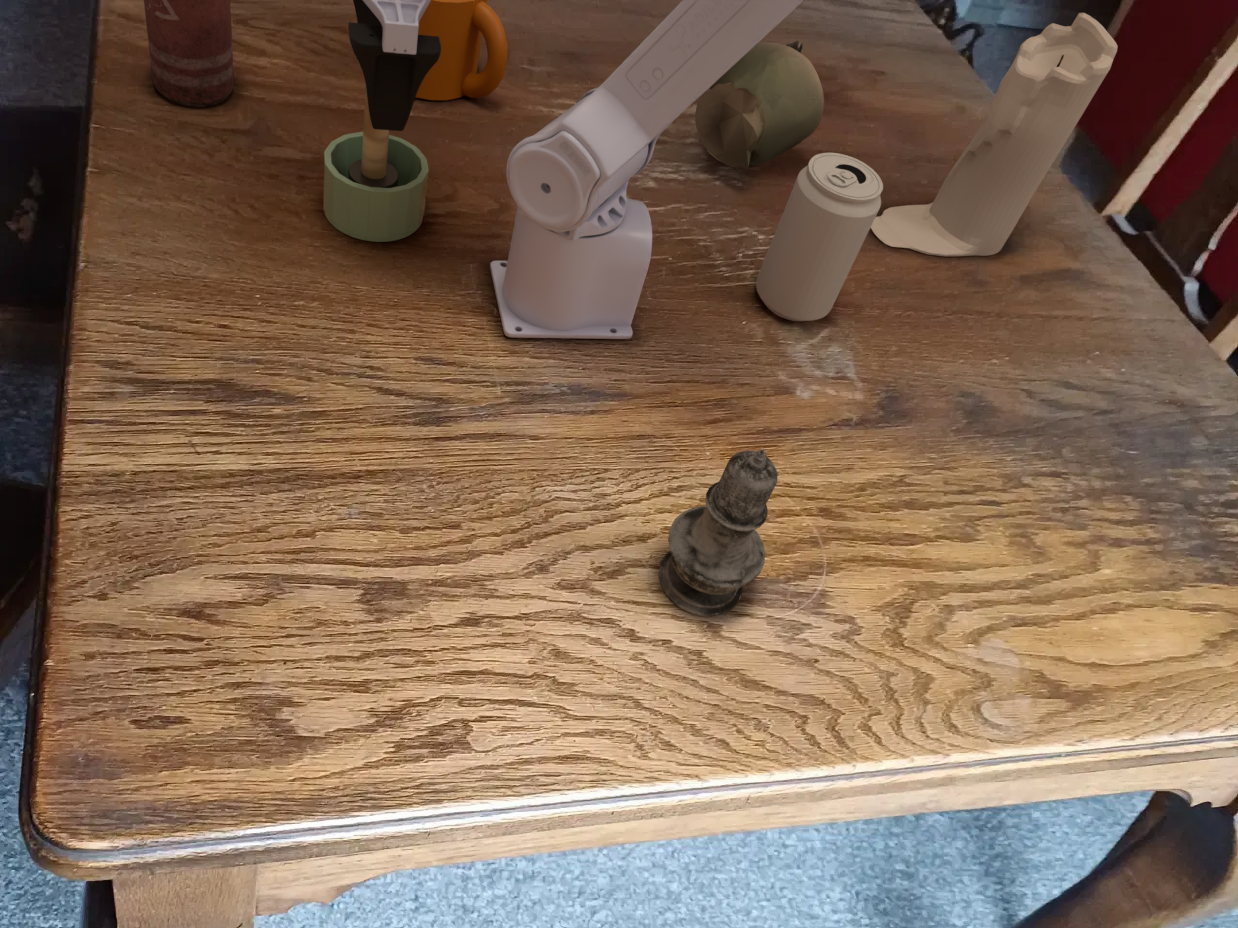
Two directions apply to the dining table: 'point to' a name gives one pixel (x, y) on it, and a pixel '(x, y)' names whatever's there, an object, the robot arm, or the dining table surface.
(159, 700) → the dining table surface
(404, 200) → the pot
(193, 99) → the can
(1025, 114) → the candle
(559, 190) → the robot arm
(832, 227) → the beverage can
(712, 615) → the chess piece
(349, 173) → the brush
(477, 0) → the mug
